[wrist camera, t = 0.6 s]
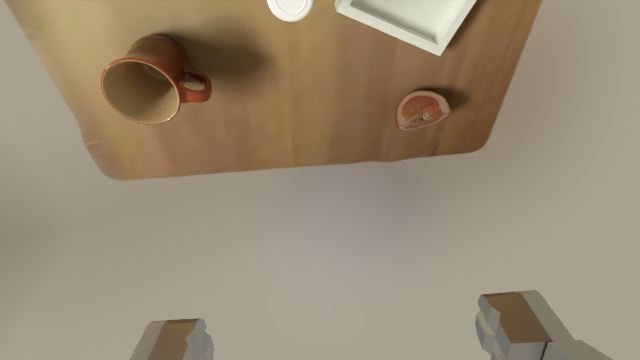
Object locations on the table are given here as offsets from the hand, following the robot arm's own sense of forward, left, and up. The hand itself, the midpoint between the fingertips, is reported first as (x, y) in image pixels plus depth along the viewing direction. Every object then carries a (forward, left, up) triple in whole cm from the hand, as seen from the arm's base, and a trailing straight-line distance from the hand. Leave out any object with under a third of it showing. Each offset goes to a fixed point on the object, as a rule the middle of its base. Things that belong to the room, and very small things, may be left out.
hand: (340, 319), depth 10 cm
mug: (+17, -12, -44) cm, 49 cm away
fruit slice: (+11, +25, -45) cm, 52 cm away
